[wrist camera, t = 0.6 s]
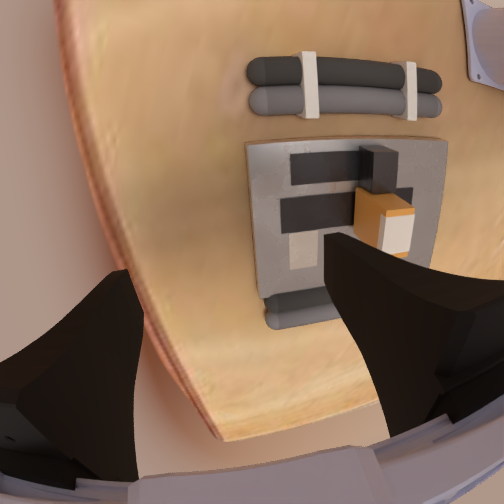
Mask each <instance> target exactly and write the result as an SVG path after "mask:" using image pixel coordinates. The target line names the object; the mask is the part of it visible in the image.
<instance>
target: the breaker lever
mask: <svg viewBox="0 0 504 504" xmlns="http://www.w3.org/2000/svg"><path fill="white" fill-rule="evenodd" d="M414 212H415V207H413V206H412V205H410V204H409V203H407V202H406V201H404V200H403V199H401V198H400V197H398V196H397V195H395V194H394V193H392V192H391V193H377V194H371V193H370V192H369V191H367V190H366V189H364V188H363V187H359V188H356V194H355V213H354V228H353V232H354V234H355V235H356V236H357V237H358V238H359V239H360V240H361V241H362V242H364V243H366V244H368V245H370V246H373V247H375V248H377V249H379V250H381V251H384V252H386V253H388V254H390V255H393V256H395V257H398V258H402V257H407V256H408V251H409V249H410V243H411V237H412V231H413V224H414V218H415V214H414Z"/></svg>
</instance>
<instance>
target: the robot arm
mask: <svg viewBox="0 0 504 504" xmlns="http://www.w3.org/2000/svg"><path fill="white" fill-rule="evenodd" d="M461 1H462V7H463V14H464V21H465V30H466V40H467V52H468V71H469V78H470V80H471V81H474V82H477V83H481V84H484V85H488V86H491V87H494V88H497V89H500V90H503V91H504V8H492V7H490V6H488V5H486V4H484V3H482V2H480V1H478V0H461ZM470 2H471V3H470ZM477 76H478V78H477ZM324 283H325V286H326V288H327V291H328V293H329V296H330V298H331V300H332V302H333V304H334V306H335V308H336V309H337V311H338V313H339V315H340V316H341V318H342V320H343V321H344V323H345V325H346V327H347V328H348V330H349V332H350V333H351V335H352V337H353V339H354V340H355V342H356V344H357V346H358V348H359V350H360V351H361V353H362V356H363V358H364V360H365V363H366V365H367V368H368V370H369V373H370V375H371V378H372V381H373V383H374V386H375V389H376V391H377V394H378V397H379V400H380V403H381V406H382V410H383V413H384V416H385V419H386V423H387V427H388V430H389V434H390V438H389V439H386V440H384V441H381V442H378V443H376V444H373V445H370V446H367V447H360V446H351V445H347V446H342V447H337V448H332V449H327V450H320V451H317V452H312V453H309V454H304V455H300V456H296V457H291V458H286V459H282V460H277V461H271V462H266V463H260V464H255V465H248V466H242V467H234V468H226V469H217V470H208V471H195V472H179V473H165V474H157V475H149V476H144V477H142V478H141V479H139V477H138V470H137V463H136V452H135V442H134V418H133V409H134V406H133V405H134V386H135V380H136V373H137V367H138V361H139V356H140V350H141V344H142V338H143V326H144V312H143V309H142V307H141V304H140V302H139V299H138V296H137V294H136V291H135V289H134V286H133V283H132V281H131V278H130V275H129V272H128V270H127V269H124V270H119V271H113V272H111V273H110V274H109V275H107V276H106V277H105V278H104V279H103V280H102V281H101V282H100V283H99V284H98V285H97V286H96V287H95V288H94V289H93V290H92V291H91V292H90V293H89V294H88V295H87V296H86V297H85V298H84V299H83V300H82V301H81V302H80V303H79V304H78V305H76V306H75V307H74V308H73V309H72V310H71V311H70V312H69V313H68V314H67V315H66V316H65V317H64V318H63V319H62V320H61V321H59V323H57V324H56V325H55V326H54V327H52V328H51V329H50V330H49V331H47V332H46V333H45V334H44V335H42V336H41V337H40V338H38V339H37V340H35V341H34V342H32V343H31V344H29V345H28V346H27V347H25V348H24V349H22V350H21V351H19V352H18V353H16V354H14V355H13V356H11V357H9V358H7V359H6V360H4V361H2V362H0V504H449V503H451V502H452V501H454V500H456V499H457V498H459V497H461V496H462V495H464V494H465V493H467V492H469V491H470V490H471V489H473V488H475V487H476V486H477V485H479V484H481V483H482V482H484V481H485V480H486V479H488V478H489V477H491V476H492V475H493V474H495V473H496V472H497V471H499V470H500V469H501V468H502V467H504V280H487V279H478V278H471V277H464V276H458V275H453V274H449V273H445V272H440V271H436V270H433V269H429V268H426V267H423V266H420V265H417V264H413V263H411V262H408V261H405V260H403V259H400V258H398V257H395V256H393V255H390V254H388V253H386V252H384V251H381V250H379V249H377V248H375V247H373V246H370V245H368V244H366V243H364V242H362V241H360V240H358V239H356V238H353V237H351V236H349V235H346V234H344V233H341V232H336V233H330V234H324Z"/></svg>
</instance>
